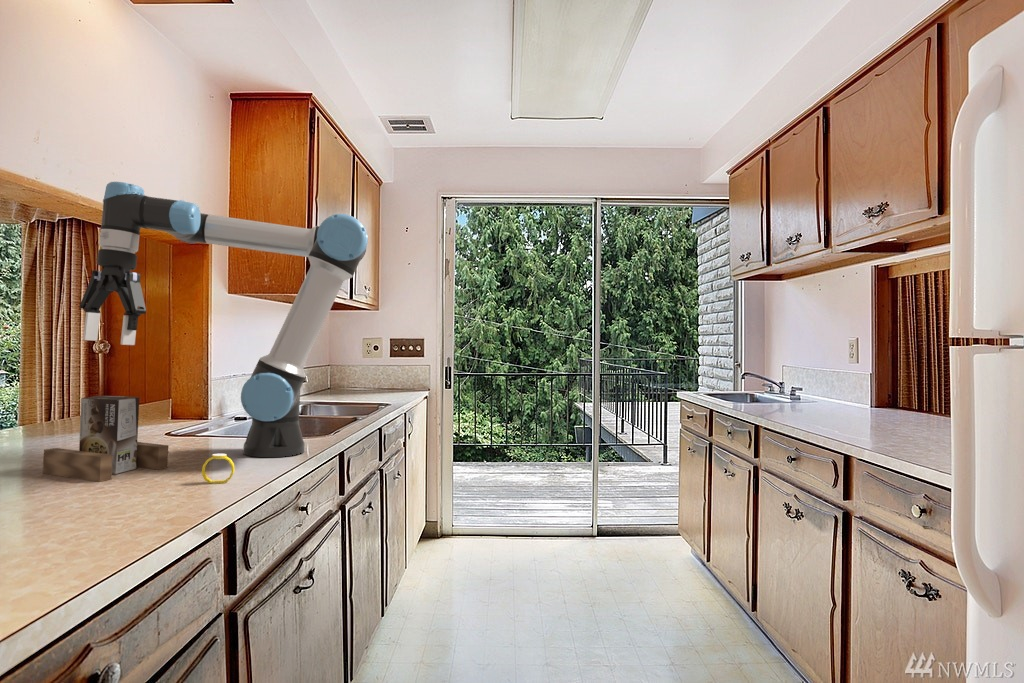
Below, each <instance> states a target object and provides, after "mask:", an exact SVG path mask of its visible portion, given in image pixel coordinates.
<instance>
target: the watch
mask: <svg viewBox="0 0 1024 683" xmlns="http://www.w3.org/2000/svg"><path fill="white" fill-rule="evenodd" d="M212 460H225V461H227V462H228V463H229V465H230V467H231V472H230V475H229V477H227V478H226V479H223V480H219V479H217V480H212V479H211V478H209V477H208V475H207V474H206V467H207V465H208V463H209V462H210V461H212ZM235 470H236V469H235V463H234V462H233V460H232V459H231V458H230V457H228V456H227V453H213V454H211V457H208V459H206V460H205V462H204V463H203V465H202V468H201V475H202V478H203V480H205V481H206V482H207V483H208V484H226V483H227V482H228V481H230V480H231V479H232V477H233V476H234V473H235Z"/></svg>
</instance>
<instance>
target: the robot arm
mask: <svg viewBox="0 0 1024 683" xmlns="http://www.w3.org/2000/svg"><path fill="white" fill-rule="evenodd" d="M103 196H104V197H103V199H102V212H101V226H100V232H99V244H98V245H99V247H100V249H99V250H97V258H96V259H97V261H96V264H97V266H100V267H102V269H101V270H95V269H93V270H92V271H91V276H90V280H89V282H88V285H87V287H86V290H85V292H84V295H83V297H82V299H81V301H80V303H79V309H82V310H83V311H84V312H85V319H84V329H83V337H82V341H95V342H98V337H99V330H100V329H99V327H100V319H101V318H100V317H101V311H100V309H101V307H102V306H103V304H104V303H105V301H106V300H107V299H108V297H109V295H110V294H111V293H114V292H115V293H117V295H118V296H119V299H120V301H121V304H122V307H123V309H124V311H125V312H123V318H122V319H123V320H122V328H121V336H120V345H121V346H122V345H123V346H124V345H126V346H135V345H136V335H137V330H138V323H139V322H138V321H139V317H140V316H141V315H145V314H147V307H146V303H145V300H144V294H143V293H144V292H143V290H142V286H141V273H139V272H133V271H135V270H136V269H137V264H138V263H137V262H138V255H137V254H136V253H137V252H139V246H140V244H139V243H140V236H141V234H140V233H141V229H147V230H154V231H161V232H166V233H167V234H170V235H171V236H173V237H174V238H176V239H177V240H179V241H180V242H181V243H182V242H183V243H188V244H196V243H200V244H209V245H218V246H225V247H231V248H240V249H247V250H254V251H260V252H269V253H276V254H282V255H291V256H298V257H305V258H306V257H307V259H308V261H309V264H310V267H309V269H308V271H307V273H306V275H305V277H304V280H303V282H302V284H301V286H300V288H299V291H298V293H297V294H296V296H295V299H294V301H293V303H292V305H291V307H290V309H289V312H288V313H287V316H286V318H285V320H284V322H283V324H282V326H281V328H280V330H279V333H278V334H277V337H276V339H275V341H274V343H273V345H272V347H271V349H270V351H269V353H268V354H266V355H264V356H262V357H259V359H258V361H257V363H256V365H255V367H254V369H253V372H252V373H251V376H250V378H248V379H247V380H246V381H245V383H244V384H243V386H242V389H241V390H240V391H241V393H240V402H241V406H242V407H243V409H244V411H245V412H246V414H247V415H249V416H250V417H251V425H250V428H249V431H248V433H247V436H246V439H245V442H244V443H243V450H242V453H243V455H246V456H248V457H255V458H256V457H257V458H286V457H292V455H293V456H297V455H296V454H298V455H301V454H304V452H305V442H304V438H303V433H302V430H301V427H300V402H301V388H302V387H303V384H304V382H305V379H306V377H307V375H306V373H305V370H304V366H305V364H306V362H307V360H308V358H309V357H310V354H311V352H312V349H313V348H314V345H315V343H316V341H317V339H318V337H319V334H320V332H321V330H322V328H323V326H324V324H325V322H326V319H327V318H328V315H329V313H330V311H331V309H332V306H333V305H334V303H335V300H336V298H337V297H338V294H339V292H340V289H341V288H342V285H343V284H344V282H345V281H346V280H349V279H352V278H353V276H354V274H355V272H356V270H357V268H358V267H359V264H360V262H361V261H362V259H364V256H365V255H366V252H367V247H368V243H369V238H368V234H367V229H366V228H365V227H364V225H363V224H362V222H361V221H360V220H359V219H357V218H356V217H354V216H352V215H349V214H346V213H336V214H332V215H331V216H328V217H327V218H325V219H324V220H322V222H321V223H320V225H319V226H318V225H315V226H313V227H312V228H306V227H300V226H291V225H284V224H278V223H272V222H271V223H270V222H266V221H265V222H263V221H257V220H256V221H255V220H250V219H244V218H243V219H242V218H238V217H237V218H236V217H229V216H223V215H222V216H221V215H217V214H216V215H215V214H207V213H201V211H200V207H199V206H198V205H197V204H196V203H194V202H189V201H185V200H182V199H180V200H176V199H170V198H169V199H168V198H161V197H154V196H148V195H145V190H144V188H142V187H141V186H139V185H136V184H134V183H133V184H132V183H127V182H123V181H109V182H108V183H107V184H106V185H105V191H104V195H103ZM300 453H301V454H300ZM285 456H286V457H285Z"/></svg>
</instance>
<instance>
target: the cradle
mask: <svg viewBox="0 0 1024 683" xmlns="http://www.w3.org/2000/svg"><path fill="white" fill-rule="evenodd" d="M112 456H113V455H109V454H101V453H93V452H85V451H79V450H75V449H69V448H62V447H61V448H60V447H54V448H53V447H52V448H46V449H43V458H42V459H43V462H42V474H44V475H51V476H56V477H63V478H64V477H65V478H70V479H79V480H84V481H85V480H86V481H92V482H98V483H99V482H106V481H110V480H112V475H113V474H112ZM168 460H169V445H168V444H162V443H160V444H158V443H150V442H141V441H137V460H136V468H137V467H138V468H144V469H145V468H146V469H153V470H161V469H166V468H168V465H169V463H168V462H169V461H168Z"/></svg>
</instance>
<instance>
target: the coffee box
mask: <svg viewBox="0 0 1024 683" xmlns="http://www.w3.org/2000/svg"><path fill="white" fill-rule="evenodd" d="M139 412H140V396H124V395H123V396H121V395H96V396H89V397H81V398H80V417H79V419H80V420H79V422H80V423H79V424H80V425H79V444H78V445H79V446H78V448H79V449H78V451H85V452H93V453H101V454H109V455H113V456H112V475H113V474H114V475H117V474H121V473H124V472H129V471H132V470H136V469H137V467H136V460H137V442H138V436H139V435H138V434H139V432H138V431H139Z"/></svg>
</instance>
